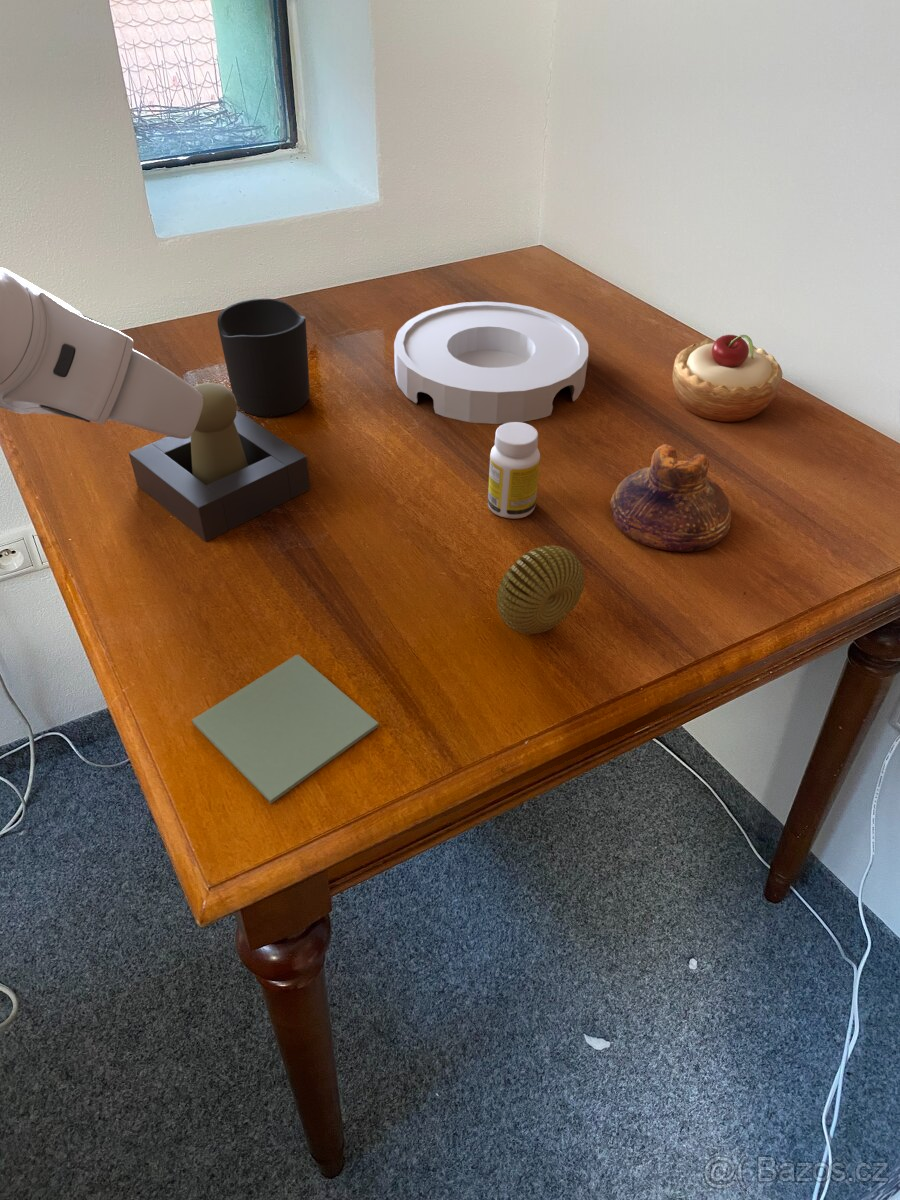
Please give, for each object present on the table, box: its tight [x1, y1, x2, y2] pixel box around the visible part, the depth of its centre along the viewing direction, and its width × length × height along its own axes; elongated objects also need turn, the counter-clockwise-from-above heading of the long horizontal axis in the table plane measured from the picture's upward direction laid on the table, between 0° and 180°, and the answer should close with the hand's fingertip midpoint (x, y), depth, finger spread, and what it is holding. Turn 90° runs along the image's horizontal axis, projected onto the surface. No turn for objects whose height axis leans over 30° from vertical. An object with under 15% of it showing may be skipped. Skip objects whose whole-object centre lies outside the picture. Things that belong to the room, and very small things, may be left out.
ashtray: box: [393, 300, 589, 425], centre depth 106 cm, size 23×23×4 cm
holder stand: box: [128, 409, 311, 543], centre depth 87 cm, size 12×12×4 cm
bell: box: [609, 443, 733, 553], centre depth 84 cm, size 12×12×7 cm
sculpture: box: [496, 544, 585, 635], centre depth 72 cm, size 8×4×8 cm, turn 123°
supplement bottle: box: [487, 422, 541, 520], centre depth 84 cm, size 5×5×8 cm
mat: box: [191, 653, 380, 804], centre depth 66 cm, size 10×10×1 cm
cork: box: [190, 382, 248, 486], centre depth 85 cm, size 6×6×11 cm
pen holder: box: [217, 298, 310, 418], centre depth 98 cm, size 9×9×10 cm
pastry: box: [671, 334, 783, 423], centre depth 100 cm, size 12×12×9 cm
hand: (145, 406), depth 75 cm, fingers open, 8 cm apart
